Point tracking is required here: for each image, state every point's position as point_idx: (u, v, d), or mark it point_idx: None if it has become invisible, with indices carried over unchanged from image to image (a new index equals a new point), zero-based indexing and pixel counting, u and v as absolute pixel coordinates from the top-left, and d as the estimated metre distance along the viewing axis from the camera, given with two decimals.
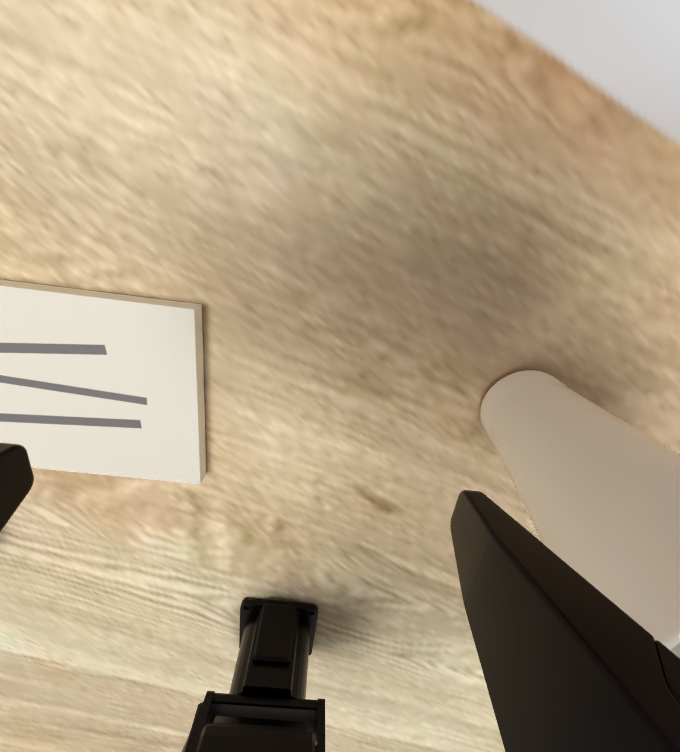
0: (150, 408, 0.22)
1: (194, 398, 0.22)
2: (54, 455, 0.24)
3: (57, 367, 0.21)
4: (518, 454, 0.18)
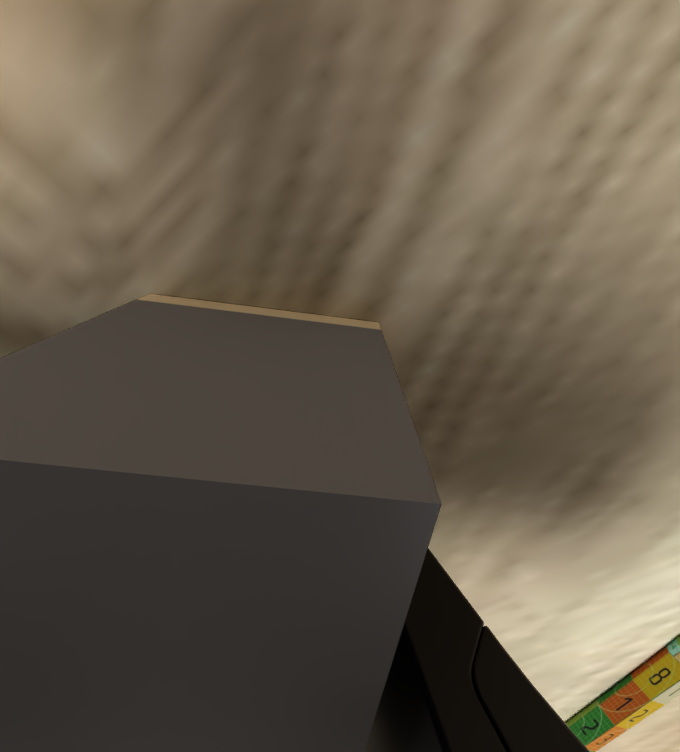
0: None
1: None
2: None
3: None
4: None
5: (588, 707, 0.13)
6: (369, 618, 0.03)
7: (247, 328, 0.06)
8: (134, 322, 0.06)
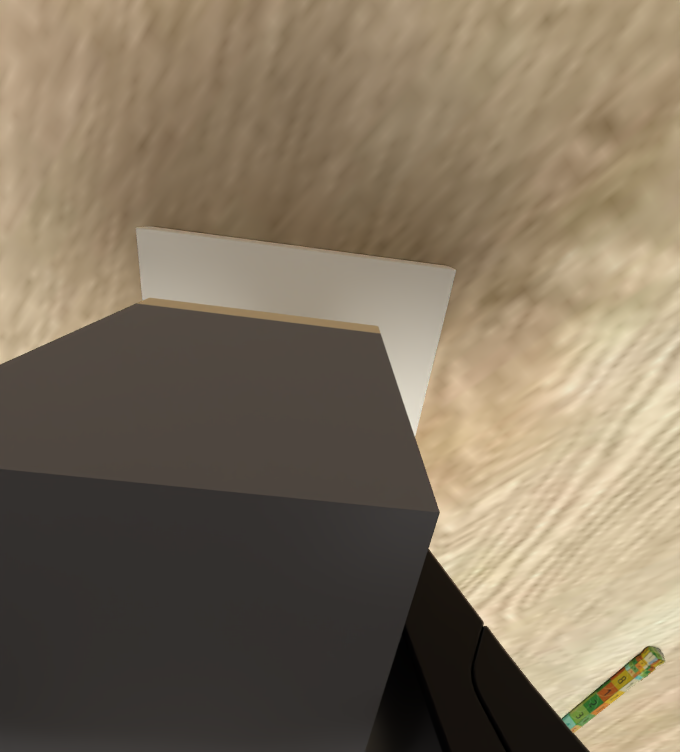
0: None
1: (285, 252, 0.14)
2: None
3: None
4: None
5: (592, 694, 0.28)
6: (368, 624, 0.03)
7: (247, 332, 0.06)
8: (134, 327, 0.06)
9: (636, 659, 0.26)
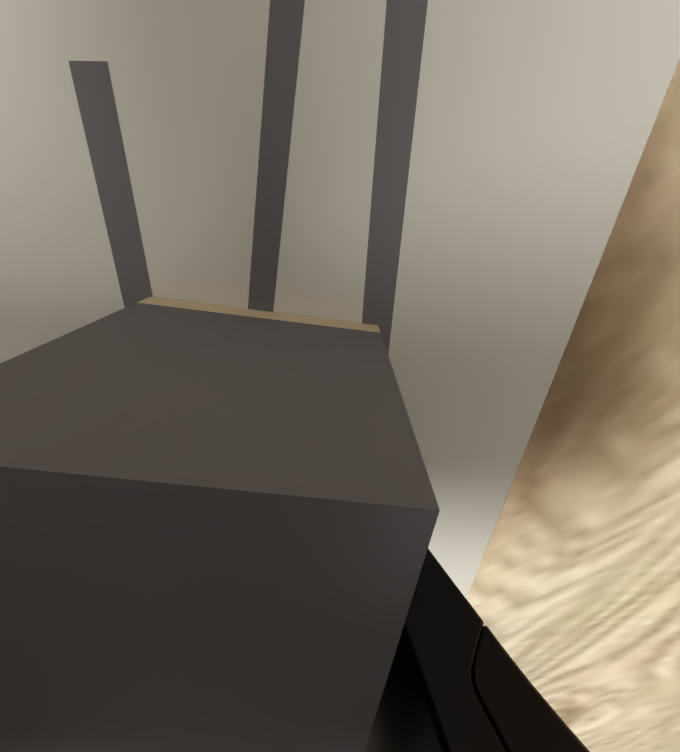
0: None
1: None
2: (500, 368, 0.08)
3: (192, 267, 0.07)
4: None
5: None
6: (369, 622, 0.03)
7: (247, 331, 0.06)
8: (134, 326, 0.06)
9: None
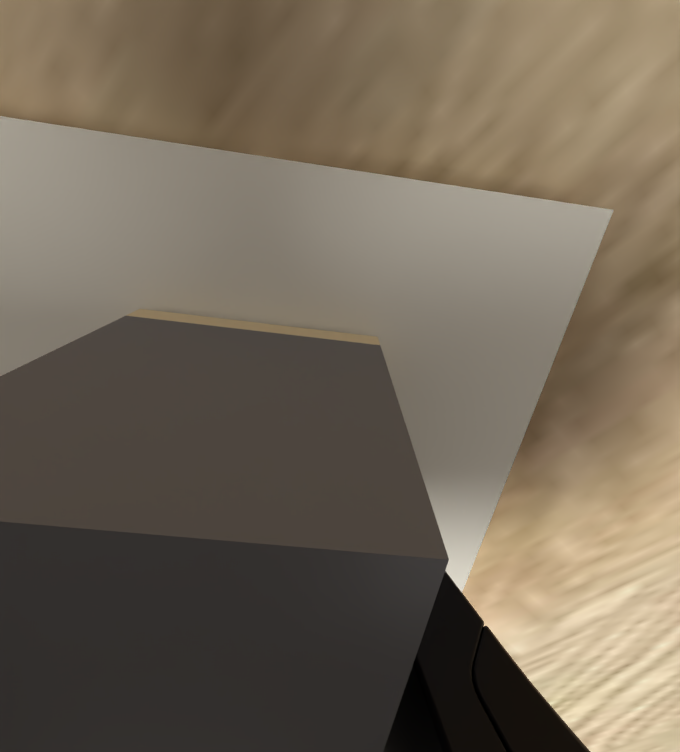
0: None
1: (230, 163, 0.06)
2: None
3: None
4: None
5: None
6: (371, 675, 0.03)
7: (241, 346, 0.06)
8: (122, 342, 0.05)
9: None
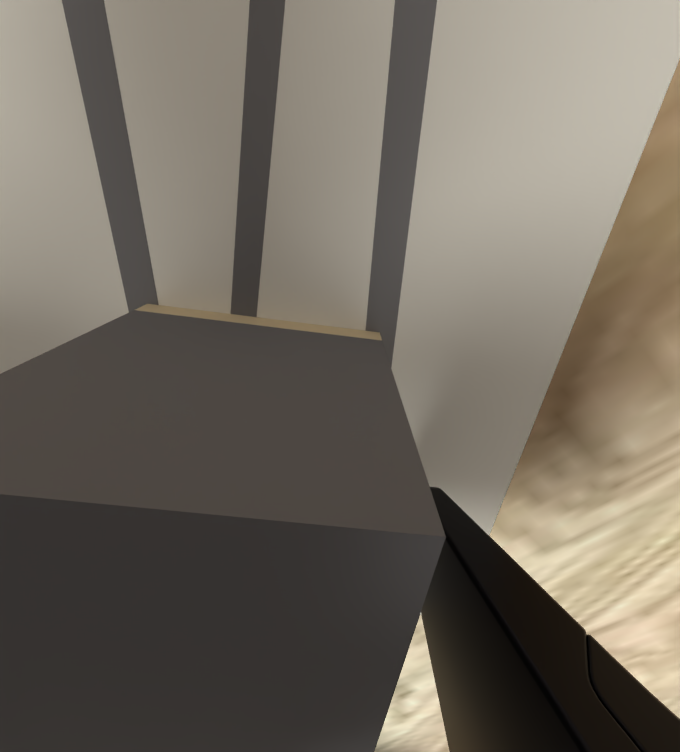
0: None
1: None
2: (546, 219, 0.06)
3: (173, 70, 0.06)
4: None
5: None
6: (371, 649, 0.03)
7: (246, 340, 0.06)
8: (131, 335, 0.05)
9: None
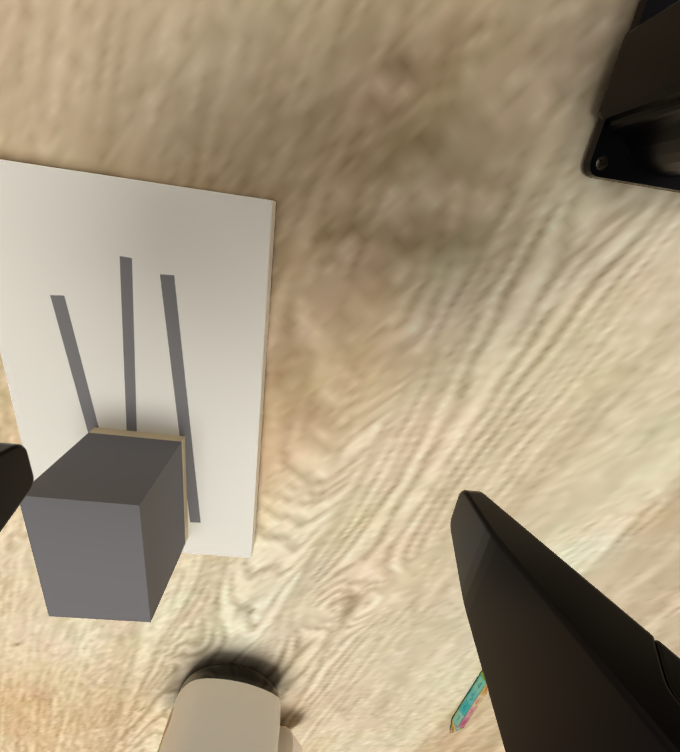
0: (136, 255, 0.15)
1: (104, 179, 0.14)
2: (235, 400, 0.18)
3: (100, 361, 0.17)
4: None
5: None
6: (133, 531, 0.15)
7: (125, 447, 0.18)
8: (85, 448, 0.17)
9: None
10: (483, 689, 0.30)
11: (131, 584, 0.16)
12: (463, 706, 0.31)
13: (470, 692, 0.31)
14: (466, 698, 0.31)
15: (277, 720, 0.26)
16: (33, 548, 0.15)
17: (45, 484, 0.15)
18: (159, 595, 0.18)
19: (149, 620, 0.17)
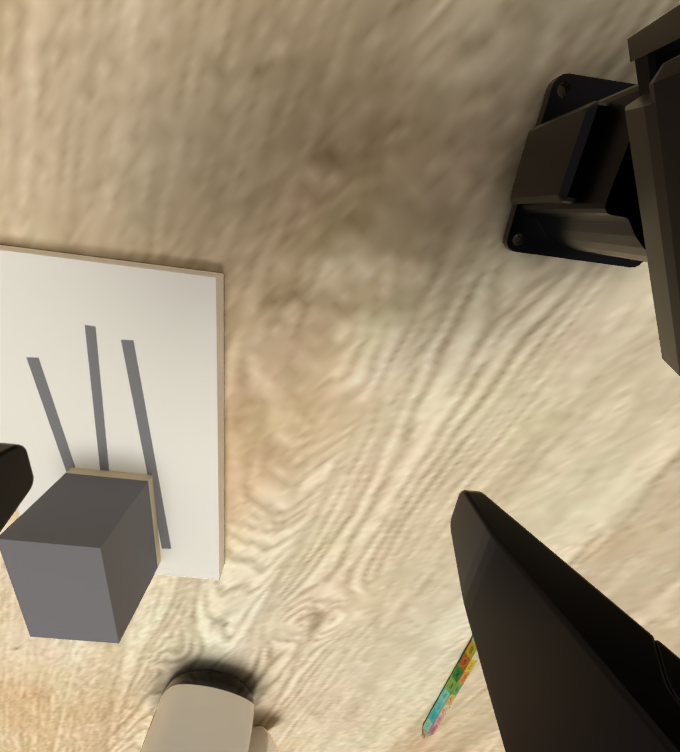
0: (99, 323, 0.17)
1: (67, 262, 0.16)
2: (195, 445, 0.20)
3: (73, 412, 0.19)
4: None
5: None
6: (97, 569, 0.17)
7: (96, 487, 0.20)
8: (61, 489, 0.19)
9: None
10: (448, 699, 0.32)
11: (99, 612, 0.18)
12: (431, 714, 0.33)
13: (437, 702, 0.33)
14: (434, 707, 0.33)
15: (249, 724, 0.28)
16: (12, 581, 0.17)
17: (21, 527, 0.17)
18: (128, 618, 0.20)
19: (117, 641, 0.19)
